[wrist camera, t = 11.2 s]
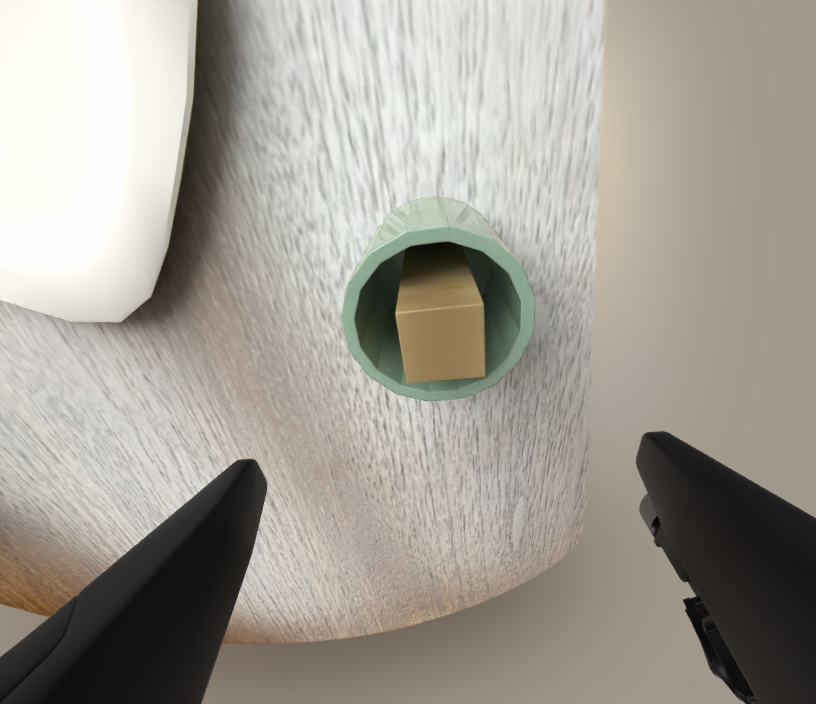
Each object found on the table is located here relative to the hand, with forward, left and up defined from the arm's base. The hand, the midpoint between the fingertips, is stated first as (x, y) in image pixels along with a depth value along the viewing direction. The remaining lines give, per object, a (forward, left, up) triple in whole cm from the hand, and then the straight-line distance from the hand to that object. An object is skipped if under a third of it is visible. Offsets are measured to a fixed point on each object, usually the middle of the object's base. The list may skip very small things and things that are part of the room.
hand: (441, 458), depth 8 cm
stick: (0, 0, -12) cm, 12 cm away
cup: (0, 0, -13) cm, 13 cm away
